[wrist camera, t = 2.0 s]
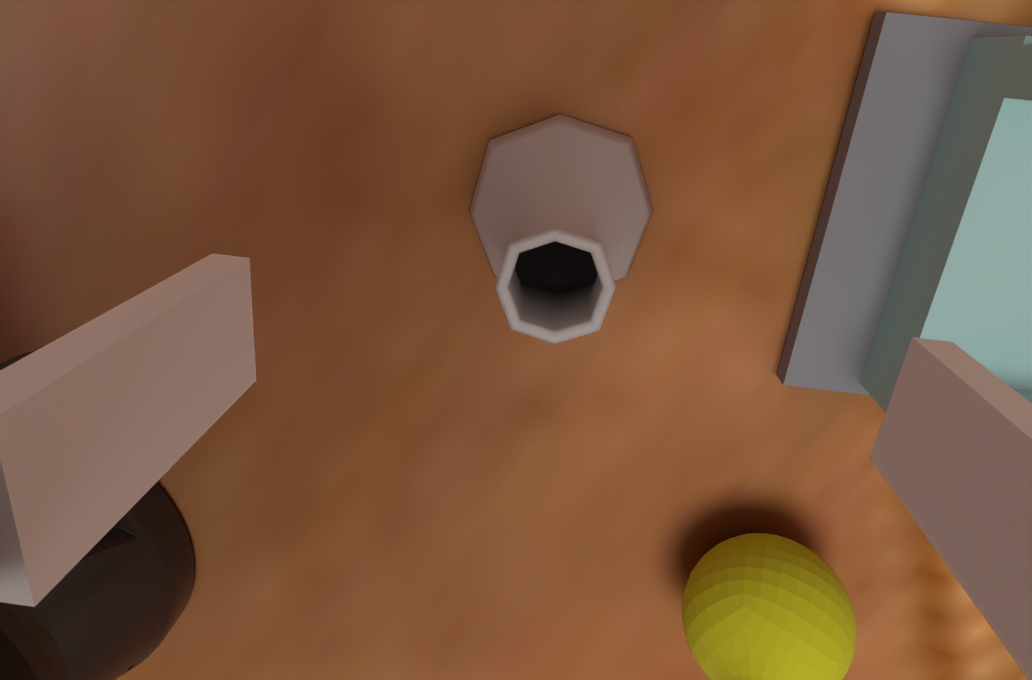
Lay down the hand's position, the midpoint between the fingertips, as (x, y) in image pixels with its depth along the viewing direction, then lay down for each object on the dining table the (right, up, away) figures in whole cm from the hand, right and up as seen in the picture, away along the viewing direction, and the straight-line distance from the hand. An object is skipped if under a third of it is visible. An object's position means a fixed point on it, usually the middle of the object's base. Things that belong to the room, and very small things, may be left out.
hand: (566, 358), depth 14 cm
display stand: (+18, +5, +13) cm, 22 cm away
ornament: (+10, -10, +20) cm, 24 cm away
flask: (+1, +6, +14) cm, 15 cm away
